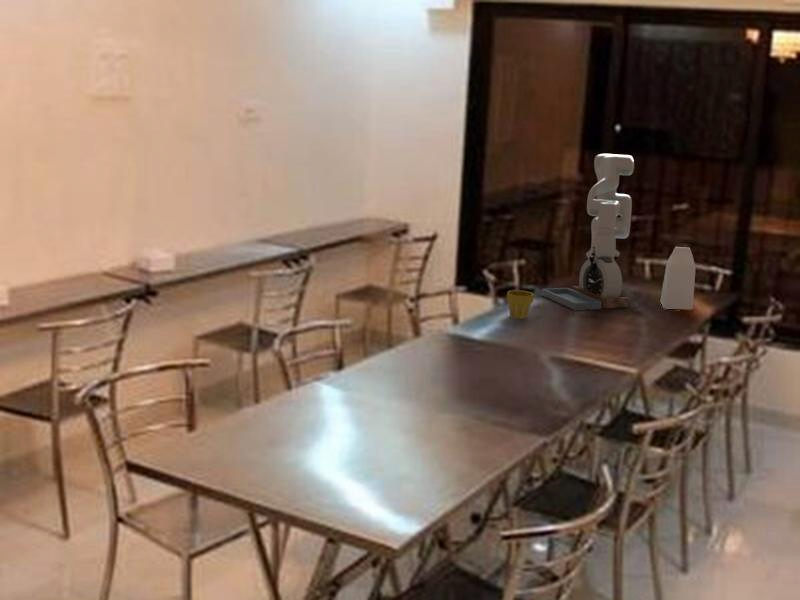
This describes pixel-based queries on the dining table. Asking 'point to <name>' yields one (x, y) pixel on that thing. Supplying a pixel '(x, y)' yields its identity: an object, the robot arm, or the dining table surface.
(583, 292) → the walnut stall
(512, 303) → the plant pot
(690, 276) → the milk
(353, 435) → the dining table surface
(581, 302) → the slate tray
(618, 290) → the alarm clock
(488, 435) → the dining table surface
